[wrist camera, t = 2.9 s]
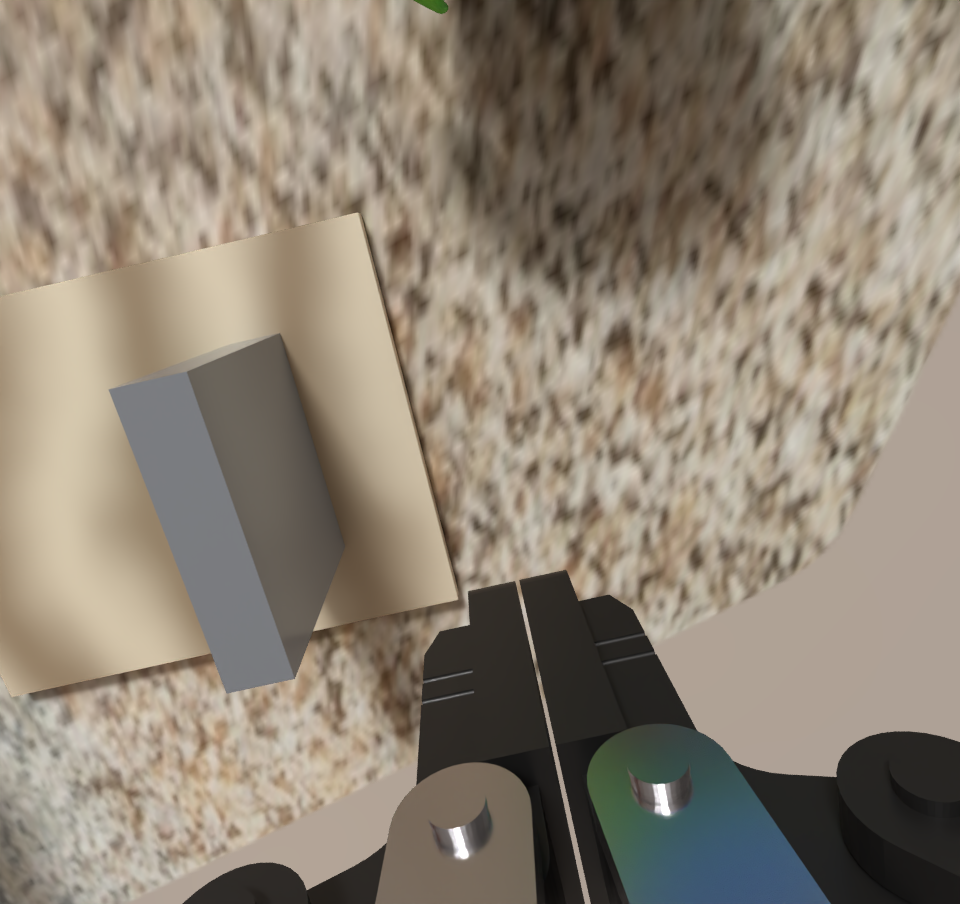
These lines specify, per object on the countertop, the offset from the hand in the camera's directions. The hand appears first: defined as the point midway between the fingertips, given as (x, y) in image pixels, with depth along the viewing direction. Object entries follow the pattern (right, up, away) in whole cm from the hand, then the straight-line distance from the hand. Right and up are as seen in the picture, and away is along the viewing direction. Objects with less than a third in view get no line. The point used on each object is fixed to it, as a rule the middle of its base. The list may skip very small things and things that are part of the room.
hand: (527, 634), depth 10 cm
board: (-13, +2, +17) cm, 22 cm away
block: (-8, +3, +16) cm, 18 cm away
